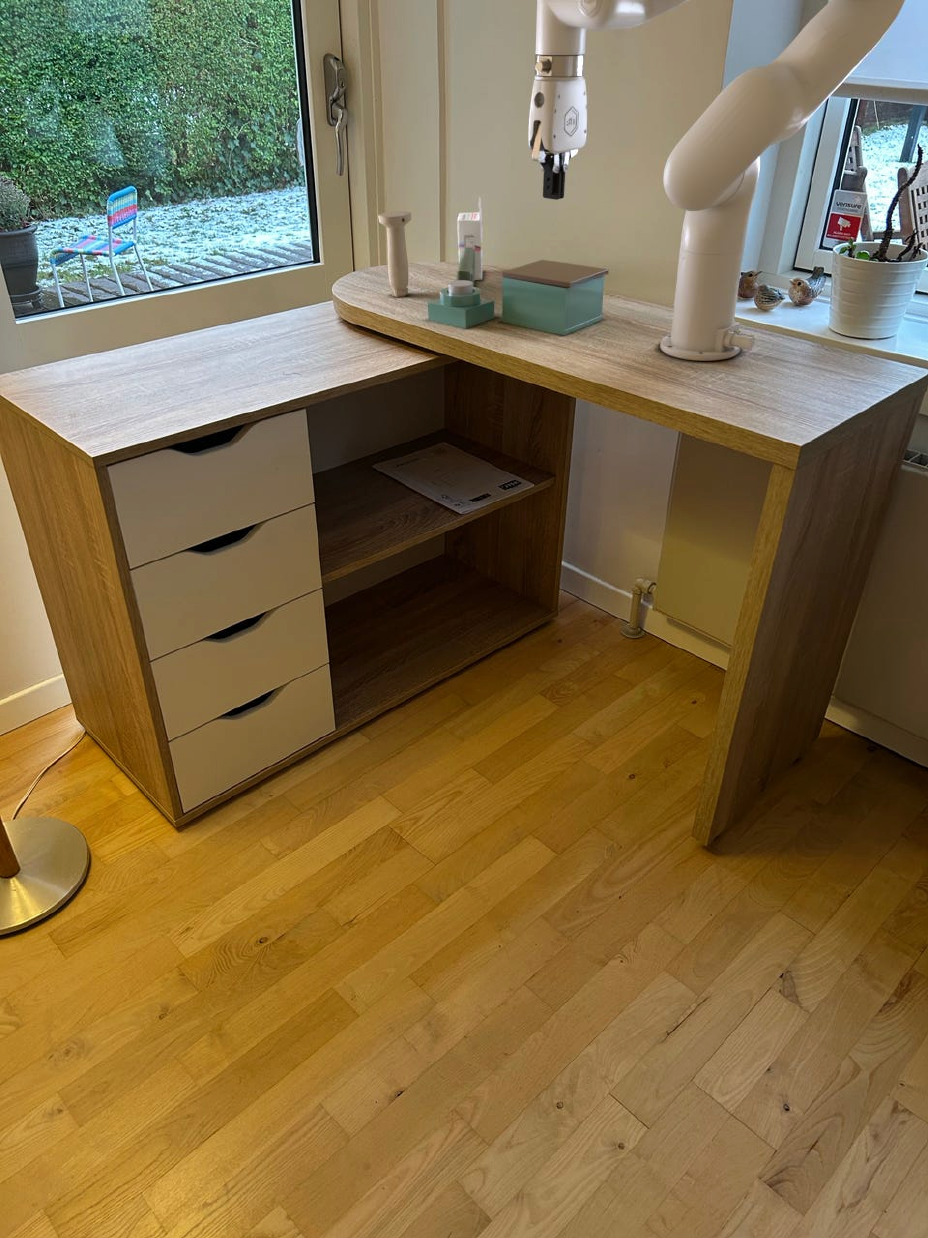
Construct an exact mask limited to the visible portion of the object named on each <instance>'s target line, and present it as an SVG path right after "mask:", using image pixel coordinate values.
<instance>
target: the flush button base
mask: <svg viewBox="0 0 928 1238" xmlns="http://www.w3.org/2000/svg"><path fill="white" fill-rule="evenodd" d="M482 293H483V292H482V289H481V288H479V287H476V286H473V293H470V294H464V295H454V294H449V293H448V287H445V288H442V289H441V290H440V291H439V298H437V299H434V300H431V301H428V302H427V315H428V317H427V318H428V321H431V322H436V323H440V324H445V325H448V326H452V327H453V326H454V327H456V328H457V327H458V328H462V329H468V328H472V327H473V326H476V325H479V324H482V323H485V322H487V321H491V320H493V319H495V300H494V299H490V298H483V295H482Z"/></svg>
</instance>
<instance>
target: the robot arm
mask: <svg viewBox="0 0 928 1238" xmlns="http://www.w3.org/2000/svg"><path fill="white" fill-rule="evenodd" d="M536 2H537V3H536V28H535V57H534V58H535V60H534V80H533V85H532V89H531V90H532V91H531V97H530V105H529V106H530V107H529V117H528V132H527V133H528V136H527V137H528V147H529V149H530V150H531V151H532V155H531V160H532V161H533V162H537V163H539V164H540V168H541V171H542V172H543V178H542V180H543V182H542V197H543V198H544V199H549V200H555V201H557V200H562V199H564V197H565V188H566V187H565V186H566V172H567V171H568V169H569V162H570V160H571V158H574V156H576V155H577V154H578V151H579V150H581V149H583V148H584V146H585V145H586V142H587V134H588V133H587V132H588V128H587V127H588V95H587V93H588V92H587V85H586V78H585V77H584V74H585V73H584V71H585V54H586V41H587V30H589V31H596V32H602V31H612V30H613V31H614V30H629V29H633V28H635V27H638V26H641V25H643V24H646V23H648V22H651V21H652V20H654V19H656V18H659V17H660V16H662V15H665V14H667V13H669V12H671V11H673V10H675V9H677V8H679V7H681V6H683V5H684V4H686V3H687V2H690V0H536ZM905 2H906V0H829V1H828V2H827V3H826V5H824V7H822V8H821V9H820V10H819V11H818V12H817V13H816V14H815V16H813V17H812V18H811V19H810V20H809V22H808V23H806V25H805V26H804V27H803V28H802V29H801V30H800V32H799V33H798V35H796V36H795V38H794V39H793V40H792V41H791V42H790V43H789V45H787V47H786V48H785V49H784V50H783V51H782V52H781V53H780V54H779V55H778V56H777V57H776V58H775V59H774V60H773V61H772V62H770V63H769V64H766V65H761V66H757V67H754V68H753V67H752V69H748V70H746V71H744V72H743V73H741V74H739V75H738V76H736V77H735V78H734V79H733V80H732V81H731V82H730V83H728V84H727V85H726V86H725V87H724V88H723V89H722V90H721V92H720V93H719V94H718V95H717V96H716V97H715V98H714V100H713V101H712V102H711V104H709V106H708V107H706V109H705V111H704V112H703V113H702V114H701V115H700V116H699V117H698V118H697V120H696V121H695V122H694V123H693V125H692V126H691V127H690V128H689V129H688V130H687V131H686V132H685V134H684V135H683V136H682V137H681V139H680V140H679V141H678V143H677V144H676V145H675V146H674V148H673V149H672V151H671V152H670V154H669V155H668V157H667V160H666V162H665V164H664V169H663V174H662V175H663V177H662V180H663V188H664V192H665V194H666V197H667V198H668V200H669V201H670V202H671V203H672V204H673V205H674V206H675V207H677V208H679V209H681V210H684V211H685V215H684V218H683V224H682V230H681V236H680V246H679V254H678V265H677V274H676V282H675V283H676V284H675V291H674V292H675V294H674V301H673V302H674V303H673V312H672V313H673V314H672V323H671V332H670V334H667V335H665V336H663V337H662V338H661V340H660V345H659V346H660V347H659V348H660V350H661V351H662V352H663V353H665V354H666V355H668V356H671V357H674V358H678V359H683V360H688V361H700V362H710V361H711V362H712V361H720V360H726V359H730V358H732V357H735V356H737V355H738V354H739V353H740V351H741V350H745V351H752V350H753V348H754V346H755V342H756V341H755V340H756V339H755V335H754V333H753V334H752V333H748V332H742V331H741V330H740V325H741V322H740V321H736V320H735V316H736V309H737V301H738V296H739V288H740V281H741V280H740V279H741V273H742V267H743V260H744V250H745V246H746V238H747V232H748V225H749V220H750V214H751V211H752V206H753V201H754V198H755V194H756V190H757V188H758V187H757V186H758V183H759V177H760V171H761V170H760V169H761V156H762V154H763V153H764V152H765V151H766V150H767V149H768V148H769V147H770V146H773V145H775V144H779V143H781V142H784V141H786V140H788V139H790V138H791V137H793V136H794V135H795V134H796V133H798V132H799V131H800V130H801V128H802V127H803V126H804V125H805V124H806V123H807V122H808V121H809V119H810V118H811V117H812V116H813V115H814V114H815V113H816V112H817V111H818V109H819V108H820V107H821V106H822V105H823V104H824V103H825V102H826V101H827V100H828V99H829V98H830V97H831V96H832V95H833V93H834V92H835V91H836V90H837V89H838V88H839V87H840V86H841V85H842V84H843V83H844V81H845V80H846V79H847V78H849V76H850V75H851V74H852V73H853V71H854V70H855V69H856V68H858V66H859V65H860V64H861V63H862V62H863V61H864V60H865V58H866V57H867V56H868V55H869V54H870V53H871V52H872V51H873V50H874V49H875V47H876V46H877V45H878V44H879V43H880V42H881V40H882V39H883V38H884V37H885V36H886V34H887V33H888V31H889V30H890V29H891V27H892V25H893V24H894V22H895V21H896V19H897V18H898V17H899V14H900V12H901V10H902V8H903V5H904V4H905Z"/></svg>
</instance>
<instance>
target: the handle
mask: <svg viewBox="0 0 928 1238" xmlns="http://www.w3.org/2000/svg"><path fill="white" fill-rule="evenodd" d="M377 217H378V221H379V224H381V225H383V226H384V227H386V234H387V235H386V236H387V237H386V238H387V239H386V240H387V272H388V273H387V274H388V280H389V286H390V288H391V289H390V292H391V296H392V297H395V298H400V297H402V298H403V297H406V296H407V295H408V293H409V287H408V286H409V260H408V252H407V243H406V232H405V231H406V228H405V227H406V226H407V224H409V223H410V221H411V220H412V212H411V211H407V210H396V211H388V212H383V213H380V214H378V216H377Z"/></svg>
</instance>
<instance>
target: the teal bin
mask: <svg viewBox="0 0 928 1238" xmlns="http://www.w3.org/2000/svg"><path fill="white" fill-rule="evenodd" d="M501 279H502V280H501V282H502V283H501V284H502V285H501V291H502V292H501V294H502V295H501V299H502V300H501V302H502V303H501V304H502V305H501V306H502V307H501V308H502V309H501V311H502V313H501V314H502V315H501V316H502V321H501V323H505V324H511V325H514V326H519V327H523V328H524V327H525V328H528V329H534V330H539V331H542V332H548V333H552V334H556V335H560V336H566V335H569V334H571V333H573V332H576V331H579V330H580V329H583V328H585V327H586V328H587V327H588V326H590V325H592V324H595V323H598V322H600V321H602V319H603V307H604V305H603V304H604V291H605V289H604V287H605V275H604V276H601V277H598V278H596V279H593V280H590V281H587V282H584V283H582V284H579V285H576V286H573V287H570V288H568V287H562V286H556V285H550V284H544V283H538V282H531V281H525V280H519V279H513V278H507V277H502V278H501Z"/></svg>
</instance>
